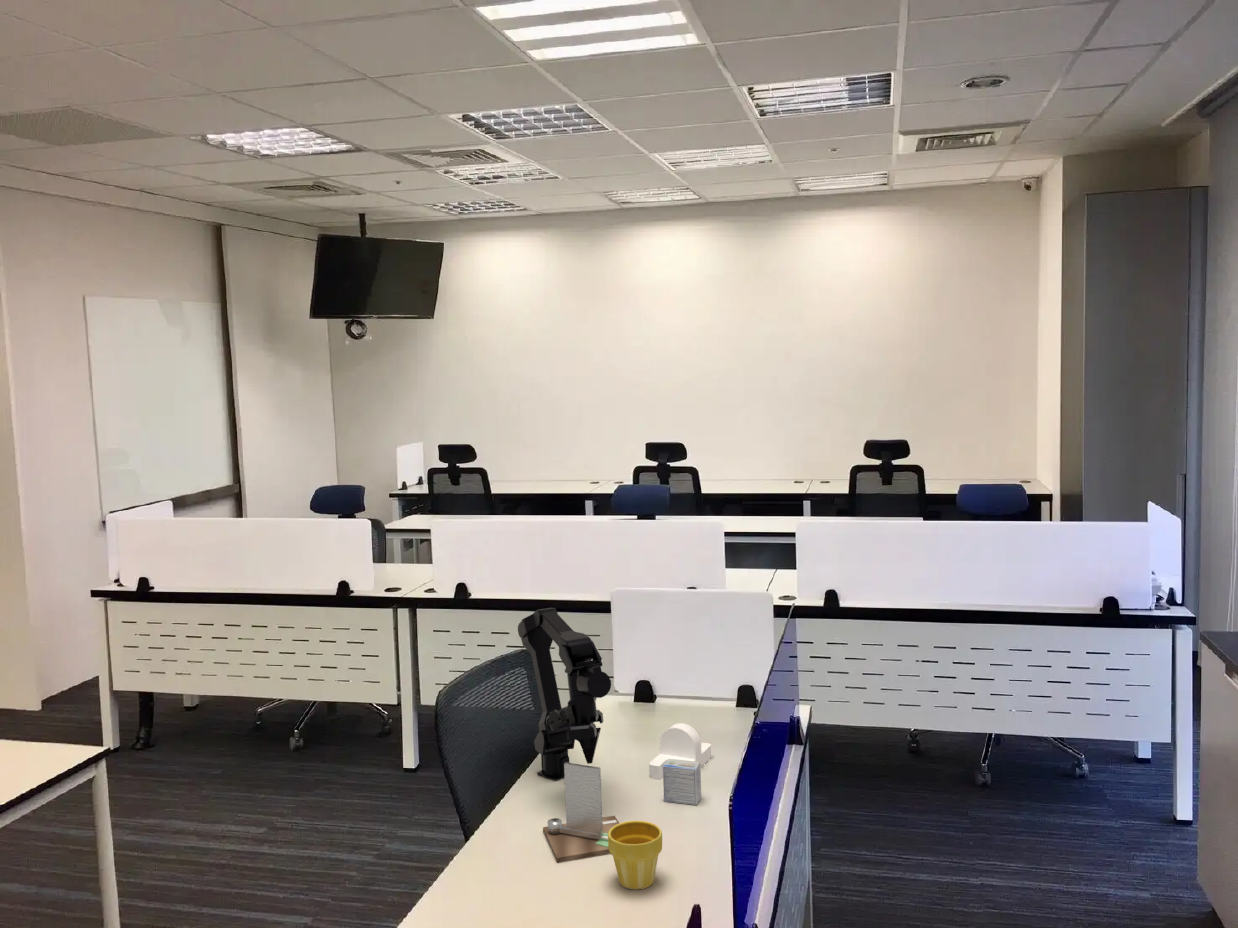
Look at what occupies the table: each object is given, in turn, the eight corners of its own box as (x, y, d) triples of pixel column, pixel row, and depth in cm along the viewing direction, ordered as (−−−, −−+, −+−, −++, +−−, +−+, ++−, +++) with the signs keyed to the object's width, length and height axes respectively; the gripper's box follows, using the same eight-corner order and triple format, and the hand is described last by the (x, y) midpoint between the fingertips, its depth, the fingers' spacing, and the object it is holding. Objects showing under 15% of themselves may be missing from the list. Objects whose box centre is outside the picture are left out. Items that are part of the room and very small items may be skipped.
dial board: (557, 862, 191) (557, 856, 191) (543, 831, 205) (542, 826, 205) (633, 849, 196) (633, 843, 196) (614, 819, 209) (614, 814, 209)
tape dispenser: (648, 778, 231) (646, 735, 230) (677, 751, 247) (676, 711, 246) (684, 785, 227) (683, 741, 226) (712, 757, 242) (711, 716, 242)
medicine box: (701, 797, 219) (701, 761, 218) (697, 806, 215) (696, 769, 214) (668, 794, 222) (667, 757, 221) (663, 802, 217) (662, 765, 217)
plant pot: (626, 862, 191) (625, 815, 190) (672, 874, 186) (671, 826, 185) (599, 886, 182) (597, 837, 181) (647, 900, 177) (645, 849, 176)
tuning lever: (545, 832, 202) (542, 762, 200) (552, 826, 204) (549, 757, 203) (612, 844, 195) (609, 773, 194) (618, 838, 198) (615, 767, 197)
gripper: (553, 690, 227) (560, 756, 226) (540, 704, 208) (548, 777, 207) (599, 685, 226) (607, 752, 225) (590, 699, 207) (598, 772, 206)
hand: (589, 763), depth 216 cm, fingers closed
